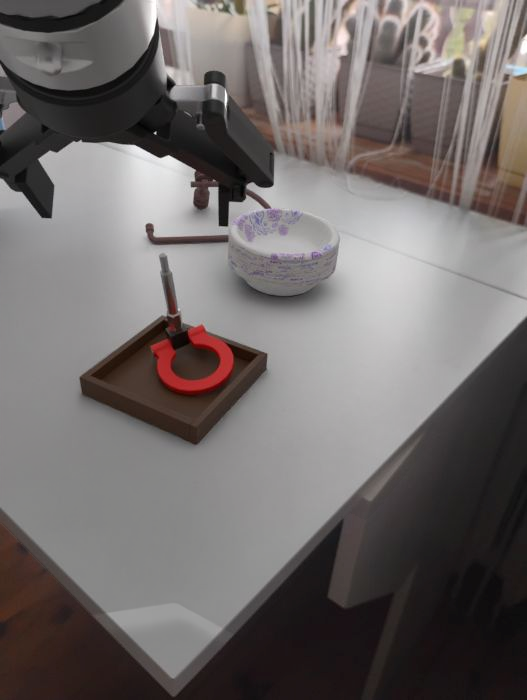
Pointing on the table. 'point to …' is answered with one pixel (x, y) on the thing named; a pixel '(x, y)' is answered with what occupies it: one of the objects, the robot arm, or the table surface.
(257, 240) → the paper bowls
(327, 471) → the table surface
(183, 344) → the tow hook
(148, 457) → the table surface
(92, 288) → the table surface
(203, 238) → the toilet paper hanger
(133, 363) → the tray
